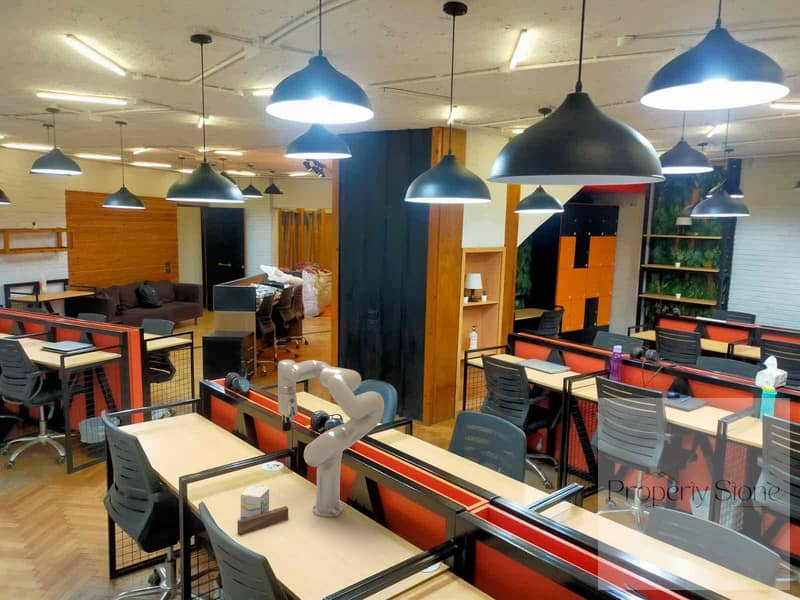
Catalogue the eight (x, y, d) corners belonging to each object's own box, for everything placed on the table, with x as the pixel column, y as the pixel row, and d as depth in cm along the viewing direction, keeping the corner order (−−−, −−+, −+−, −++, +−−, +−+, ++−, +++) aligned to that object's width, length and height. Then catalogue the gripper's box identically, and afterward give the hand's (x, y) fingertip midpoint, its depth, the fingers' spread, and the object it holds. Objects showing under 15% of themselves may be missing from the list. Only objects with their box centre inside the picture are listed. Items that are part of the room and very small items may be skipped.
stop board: (288, 519, 217) (288, 507, 217) (239, 535, 205) (239, 522, 204) (286, 517, 219) (286, 505, 218) (237, 533, 206) (237, 520, 206)
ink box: (259, 525, 212) (259, 497, 211) (239, 522, 214) (239, 494, 213) (269, 514, 221) (269, 487, 219) (250, 511, 223) (250, 484, 221)
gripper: (303, 391, 229) (302, 433, 231) (287, 383, 241) (286, 423, 243) (286, 394, 224) (286, 437, 227) (271, 386, 236) (271, 427, 238)
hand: (286, 430), depth 235 cm, fingers closed
